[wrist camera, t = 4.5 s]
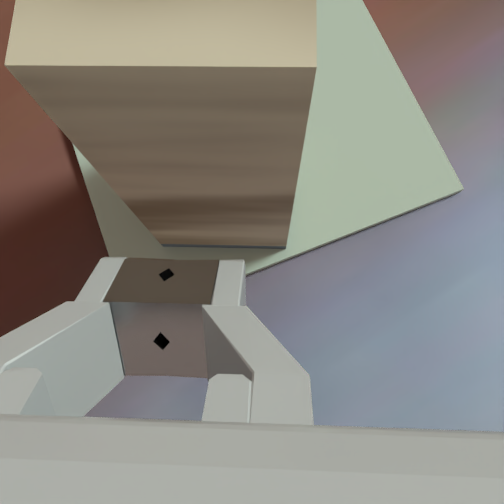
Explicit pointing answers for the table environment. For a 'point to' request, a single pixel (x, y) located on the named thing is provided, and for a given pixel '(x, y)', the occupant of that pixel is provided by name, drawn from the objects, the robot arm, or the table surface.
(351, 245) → the table surface
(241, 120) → the block
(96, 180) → the mat
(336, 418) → the table surface
